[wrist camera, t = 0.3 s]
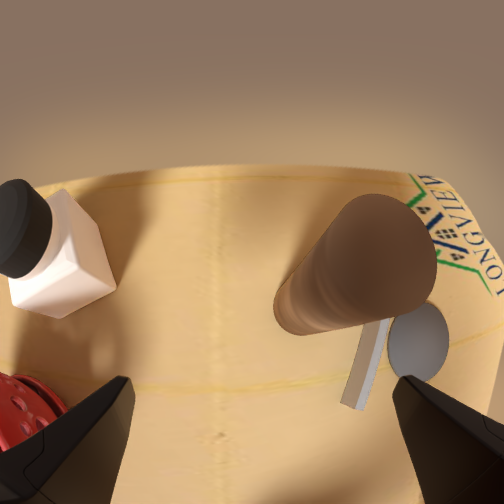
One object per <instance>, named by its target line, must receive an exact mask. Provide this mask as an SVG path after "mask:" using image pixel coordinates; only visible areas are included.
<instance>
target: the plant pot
mask: <svg viewBox="0 0 504 504" xmlns="http://www.w3.org/2000/svg"><path fill="white" fill-rule="evenodd" d="M67 411H68V409H67V408H66V406H65V405H64V404H63V402H62V401H61V400H60V399H59V397H58V396H57V395H56V394H55V393H54V392H53V391H52V390H51V389H50V388H48V387H47V386H46V385H44V384H43V383H42V382H40V381H39V380H37V379H35V378H32V377H30V376H26V375H13V376H8V375H6V374H3V373H1V372H0V453H1V452H3V451H5V450H7V449H10V448H12V447H13V446H15V445H17V444H19V443H21V442H23V441H24V440H26V439H27V438H29V437H31V436H32V435H34V434H35V433H37V432H38V431H40V430H41V429H43V430H44V427H46V426H47V425H48V424H50V423H51V422H53V421H54V420H56V419H57V418H59V417H60V416H61V415H63V414H64V413H66V412H67Z"/></svg>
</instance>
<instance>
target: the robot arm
mask: <svg viewBox="0 0 504 504" xmlns="http://www.w3.org/2000/svg"><path fill="white" fill-rule="evenodd" d="M392 398H393V402H394V405H395V409H396V413H397V417H398V421H399V425H400V428H401V432H402V435H403V438H404V440H405V443H406V446H407V449H408V452H409V454H410V457H411V460H412V463H413V466H414V469H415V472H416V475H417V478H418V481H419V485H420V488H421V491H422V494H423V498H424V501H425V504H504V425H503V424H501V423H498V422H496V421H494V420H492V419H490V418H488V417H487V416H485V415H482V414H481V413H479V412H477V411H476V410H474V409H472V408H470V407H468V406H466V405H465V404H463V403H461V402H459V401H457V400H456V399H454V398H452V397H450V396H448V395H447V394H445V393H443V392H441V391H439V390H438V389H436V388H434V387H432V386H431V385H429V384H427V383H425V382H424V381H422V380H420V379H418V378H417V377H415V376H413V375H404V376H401V377H400V379H399V380H398V383H397V385H396V387H395V389H394V391H393V394H392ZM134 405H135V392H134V389H133V385H132V382H131V379H130V378H129V377H125V376H116V377H115V378H113V379H112V380H111V381H109V382H108V383H106V384H105V385H104V386H102V387H101V388H99V389H98V390H97V391H95V392H94V393H92V394H91V395H90V396H88V397H87V398H85V399H84V400H83V401H81V402H80V403H78V404H77V405H76V406H74V407H73V408H71V409H70V410H69V411H67V412H66V413H64V414H63V415H61V416H60V417H59V418H57V419H56V420H54V421H53V422H51V423H50V424H48V425H47V426H46V427H44V430H43V429H41V430H40V431H38V432H37V433H35V434H34V435H32V436H31V437H29V438H27V439H26V440H24V441H23V442H21V443H19V444H17V445H15V446H13V447H12V448H10V449H7V450H5V451H3V452H1V453H0V504H110V502H111V498H112V494H113V491H114V487H115V483H116V479H117V476H118V472H119V469H120V465H121V462H122V458H123V455H124V451H125V448H126V445H127V441H128V437H129V432H130V426H131V420H132V415H133V410H134Z"/></svg>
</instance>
